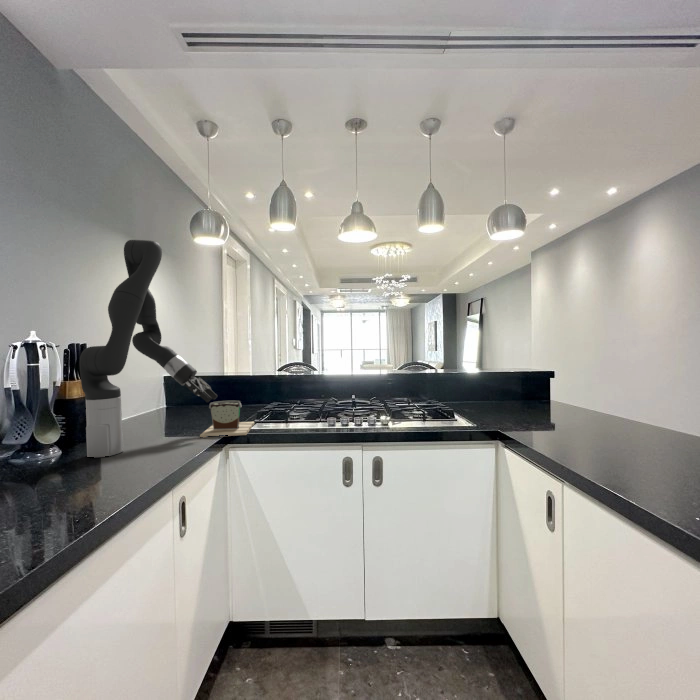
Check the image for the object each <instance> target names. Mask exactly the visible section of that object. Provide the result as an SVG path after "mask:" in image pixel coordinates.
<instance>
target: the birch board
mask: <svg viewBox="0 0 700 700" xmlns="http://www.w3.org/2000/svg"><path fill="white" fill-rule="evenodd" d="M254 425H255V421H239V429H215V430H214V429H213V424H211V425H210V426H209V427H208V428H207V429H206V430H204V431H203V432H202V433H200V434H199V438H200V437H203V438H207V437H206V436H219V435H228V436H227V437H231V436H233V437H235V436H236V437H237V436H247V435H248V433H250V431H251V429H252V428H253V427H254ZM252 426H253V427H252Z"/></svg>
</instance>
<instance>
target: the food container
mask: <svg viewBox="0 0 700 700" xmlns="http://www.w3.org/2000/svg"><path fill="white" fill-rule="evenodd" d="M241 408H242V403H241V400H234V399H233V400H218V401H213V402H210V403H209V406H208V409H210V413H211V414H210V415H211V420H212V425H213V429H214V430H215V429H239V422H240V413H241Z"/></svg>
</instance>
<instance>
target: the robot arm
mask: <svg viewBox="0 0 700 700" xmlns="http://www.w3.org/2000/svg"><path fill="white" fill-rule="evenodd" d="M123 257H124V262H125V267H126V272H127V276H128V277H127V278H125V280H123V281H122V282H121V283H119V285H117V286H116V288H115V289H114V291H113V293H112V294H111V298H110V300H109V303H108V306H107V313H108V316H109V317H108V318H109V320H110V324H111V333H110V336H109V339H108V341H107V342H106V345H94V346H92V345H91V346H88V347H86V348H84V349H83V350H82V352H81V354H80V356H79V374H80V382H81V388H82V391H83V393H84V395H85V408H86V409H85V416H86V417H85V418H86V419H85V421H86V427H85V433H86V434H85V437H86V456H87V457H94V458H106V457H105V456H109V457H110V456H114V455H118V454H120V453H122V452H124V435H123V419H122V417H123V416H122V397H121V395H122V393H121V388H120V387H119V386H117V385H115V384H112V382H110V381H109V379H108V376H116V375H118V374H120V373H121V372H122V371H123V369H124V368H125V366H126V362H127V359H128V356H129V351H130V345H131V342H132V345H133V347H134V348H135V349H136V350H137V351H138V352H139V353H141V354H142V355H143V356H146V357H148V358H149V359H151V360H153V361H155V362H156V363H157V364H158V365H160V367H161V368H162V369H164V370H165V371H166V373H167V374H168V375H169V376H171V377H172V378H173V379H174V380H175V382H177V383H178V384H179V385H181V386H185V387H186V388H187V389H188V390H189V391H190V392H191V393H192V394H193V395H195V396H198V397H200V398H201V399H202V400H204V401H205V402H206V403H209V402H210V401H211V400H214V401H215V400H216V399H217V398H218V394H217V393H215V392H214V391H213V390H212V386H211V385H209V384H208V383H207V382H206V381H205V380H204V379H202V378H201V377H198V378H197V377H196V375H197V373H198V371H197V370H196V368H194V367H193V366H192V365H191V364H190V363H189V362H188V361H187V360H185V359H184V358H183V357H181V356H180V355H179V354H178V353H176V351H174V349H172V348H171V347H170V346H165V345H161V342H162V332H161V329H160V326H159V323H158V320H157V307H156V306H157V305H156V300H155V298H154V295H153V294H152V292H151V291H150V286H151V283H152V280H153V278H154V276H155V274H156V273H157V271H158V269H159V267H160V265H161V261H162V257H163V252H162V247H161V244H160V243H159V242H157V241H154V240H146V239H128V240H127V241H126V242H125V243H124V246H123ZM136 324H137V325H141V326H142V327H141V328H142V331H140V332H137V333H135V334H134V331H135V327H136ZM133 334H134V335H133Z"/></svg>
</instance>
